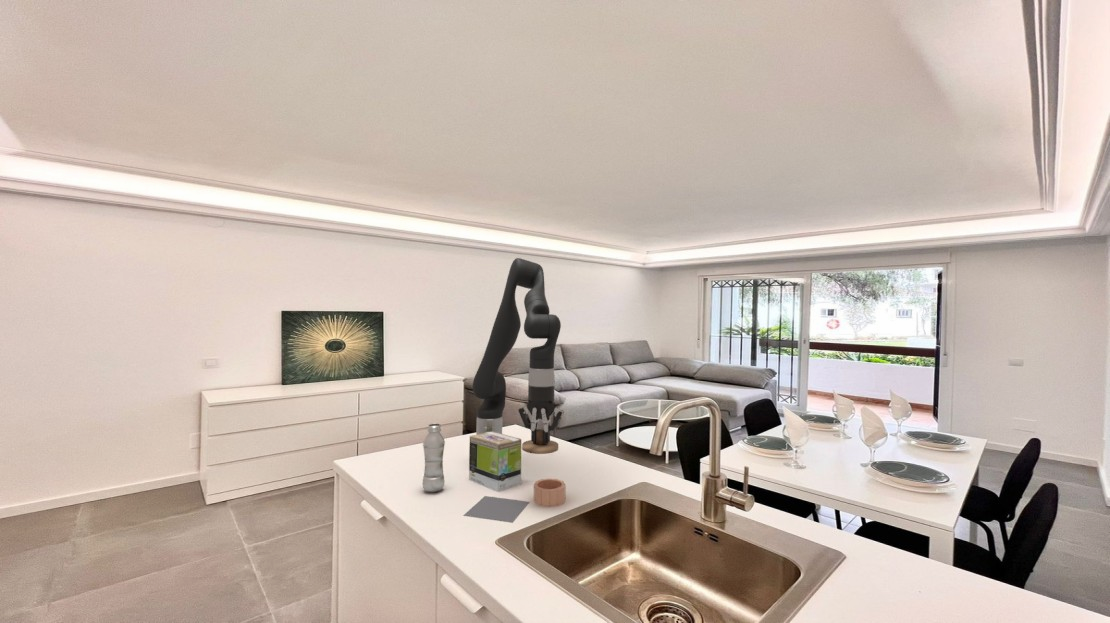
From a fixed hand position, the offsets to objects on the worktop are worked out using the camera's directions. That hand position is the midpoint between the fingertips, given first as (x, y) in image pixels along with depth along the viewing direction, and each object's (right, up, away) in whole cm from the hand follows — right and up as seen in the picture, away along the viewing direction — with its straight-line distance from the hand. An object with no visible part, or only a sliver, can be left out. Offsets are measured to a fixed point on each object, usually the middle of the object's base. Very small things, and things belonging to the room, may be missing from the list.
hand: (540, 443), depth 134 cm
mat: (-12, -17, -5) cm, 21 cm away
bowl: (+3, -17, +1) cm, 17 cm away
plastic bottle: (-33, -17, +8) cm, 38 cm away
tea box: (-15, -17, +16) cm, 28 cm away
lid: (0, -1, 0) cm, 1 cm away
